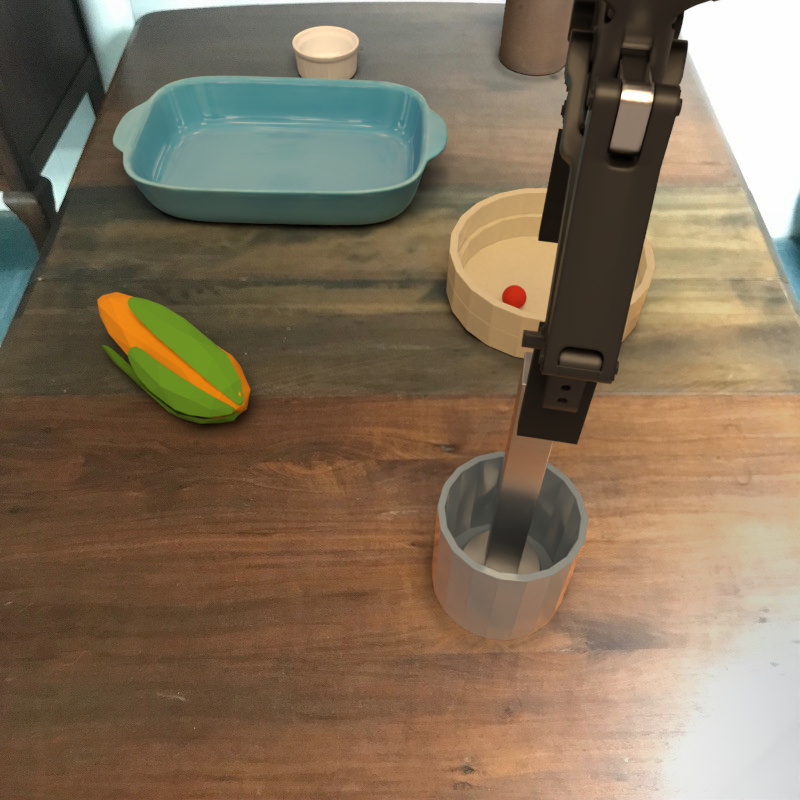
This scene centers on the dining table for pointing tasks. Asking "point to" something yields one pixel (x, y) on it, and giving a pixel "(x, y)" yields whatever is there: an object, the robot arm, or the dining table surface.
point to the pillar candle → (535, 35)
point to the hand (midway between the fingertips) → (555, 326)
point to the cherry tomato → (514, 296)
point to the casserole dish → (280, 149)
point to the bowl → (512, 269)
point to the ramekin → (326, 52)
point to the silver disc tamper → (514, 499)
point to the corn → (174, 360)
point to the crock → (491, 590)
